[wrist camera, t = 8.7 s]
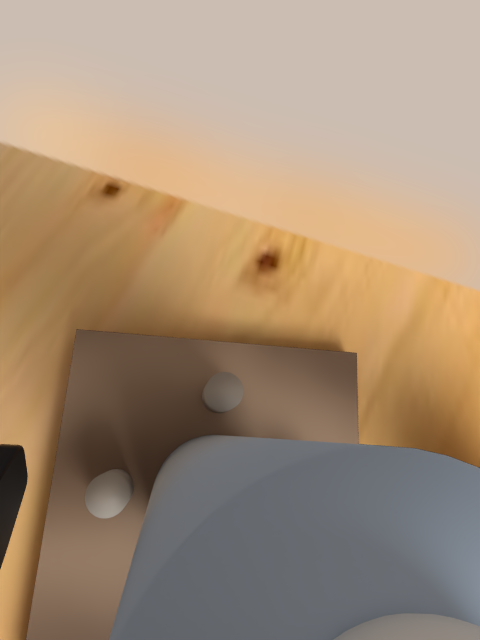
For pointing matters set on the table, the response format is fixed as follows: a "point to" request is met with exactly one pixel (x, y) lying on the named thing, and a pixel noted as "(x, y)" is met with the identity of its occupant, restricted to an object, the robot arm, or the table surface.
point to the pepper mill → (305, 544)
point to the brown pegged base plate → (160, 448)
